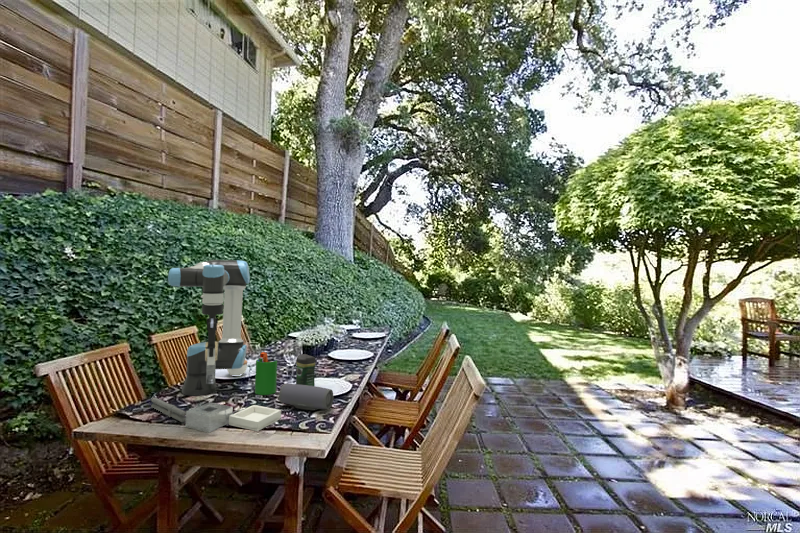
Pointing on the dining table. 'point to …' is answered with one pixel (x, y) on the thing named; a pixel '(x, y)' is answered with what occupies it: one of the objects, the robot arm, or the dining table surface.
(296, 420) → the dining table surface
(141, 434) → the dining table surface
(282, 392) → the bluetooth speaker
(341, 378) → the dining table surface
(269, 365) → the green cylinder
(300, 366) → the coffee jar
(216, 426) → the block
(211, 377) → the tan knobbed cylinder
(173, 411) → the metal rod assembly
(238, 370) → the lidded jar
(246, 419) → the tray
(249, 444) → the dining table surface
